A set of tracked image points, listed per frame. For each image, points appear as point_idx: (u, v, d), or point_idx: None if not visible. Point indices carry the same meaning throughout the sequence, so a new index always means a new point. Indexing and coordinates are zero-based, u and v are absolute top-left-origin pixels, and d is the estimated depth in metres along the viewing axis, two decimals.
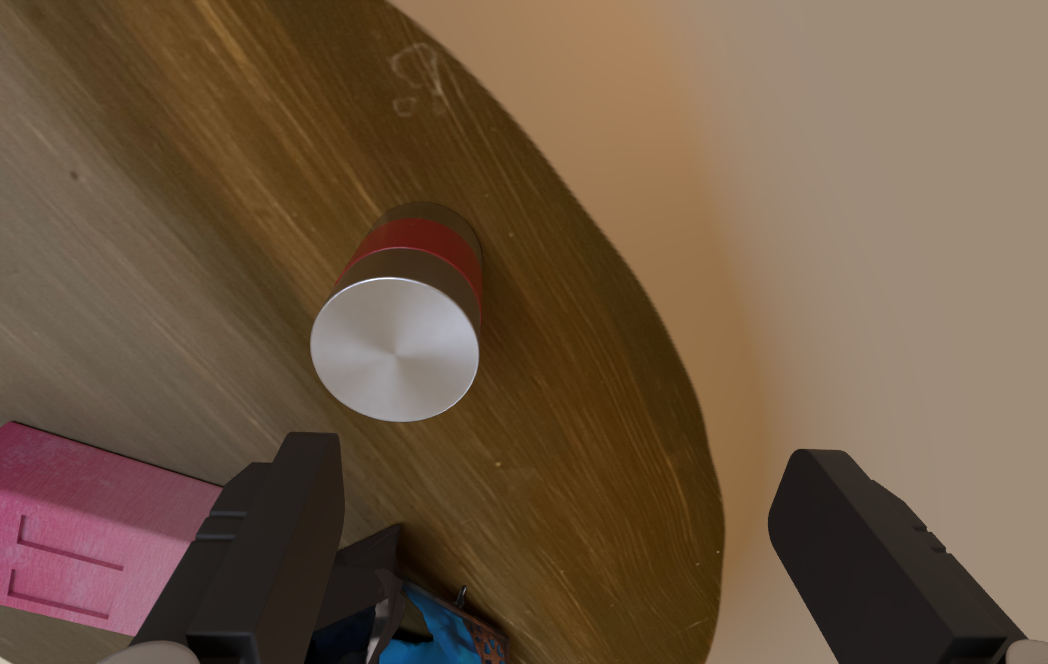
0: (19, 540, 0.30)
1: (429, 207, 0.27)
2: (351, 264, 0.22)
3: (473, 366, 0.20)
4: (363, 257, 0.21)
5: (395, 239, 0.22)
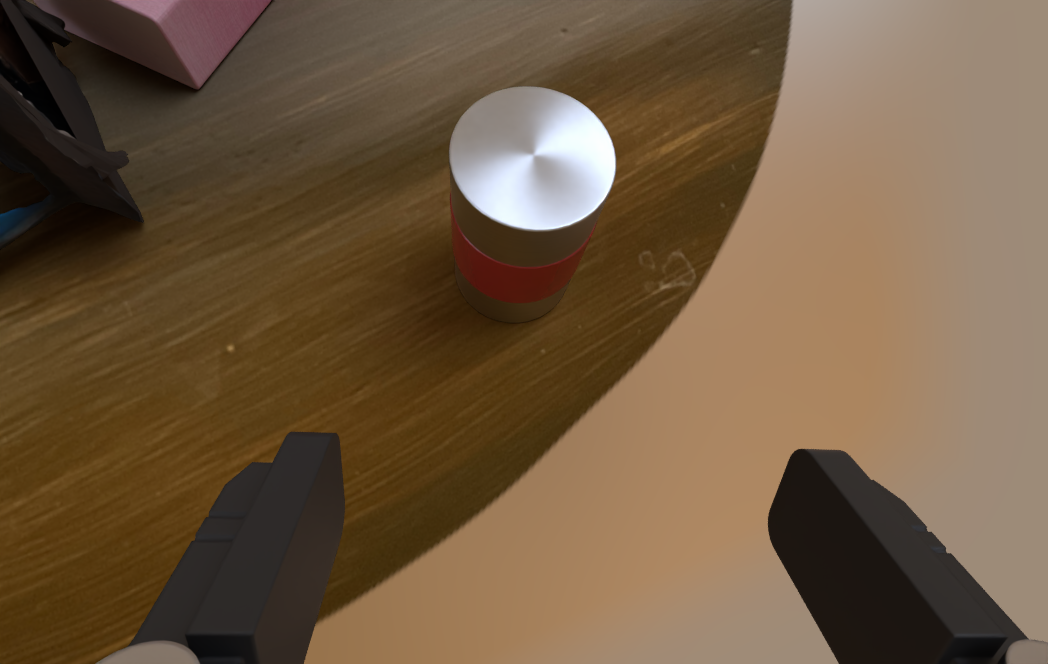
0: None
1: None
2: None
3: (524, 224, 0.19)
4: None
5: None
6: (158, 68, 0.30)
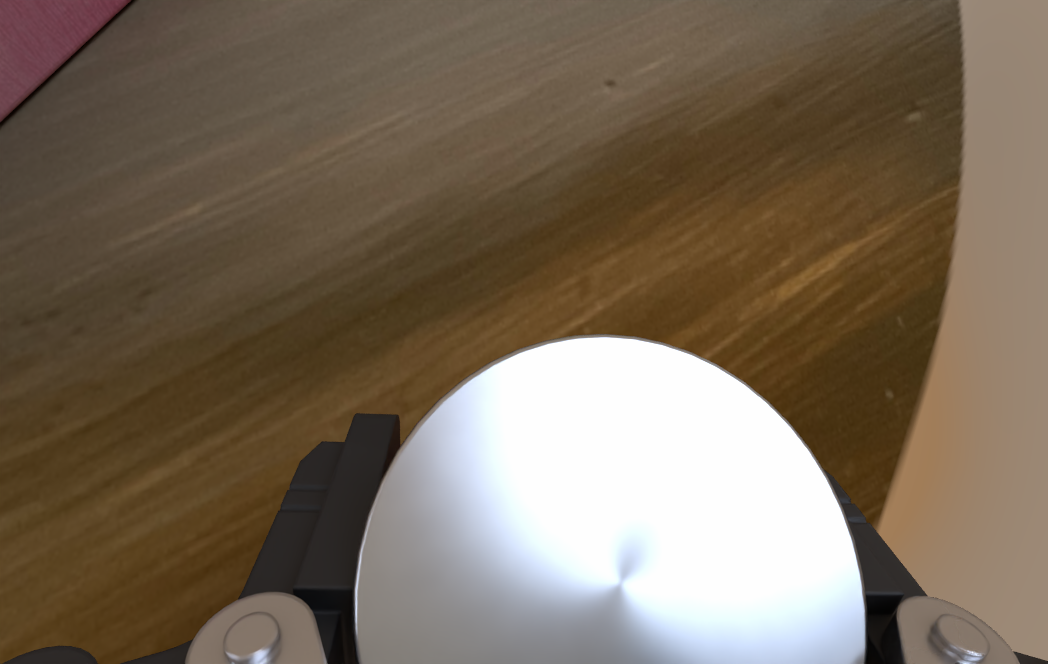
0: None
1: None
2: None
3: None
4: None
5: None
6: None
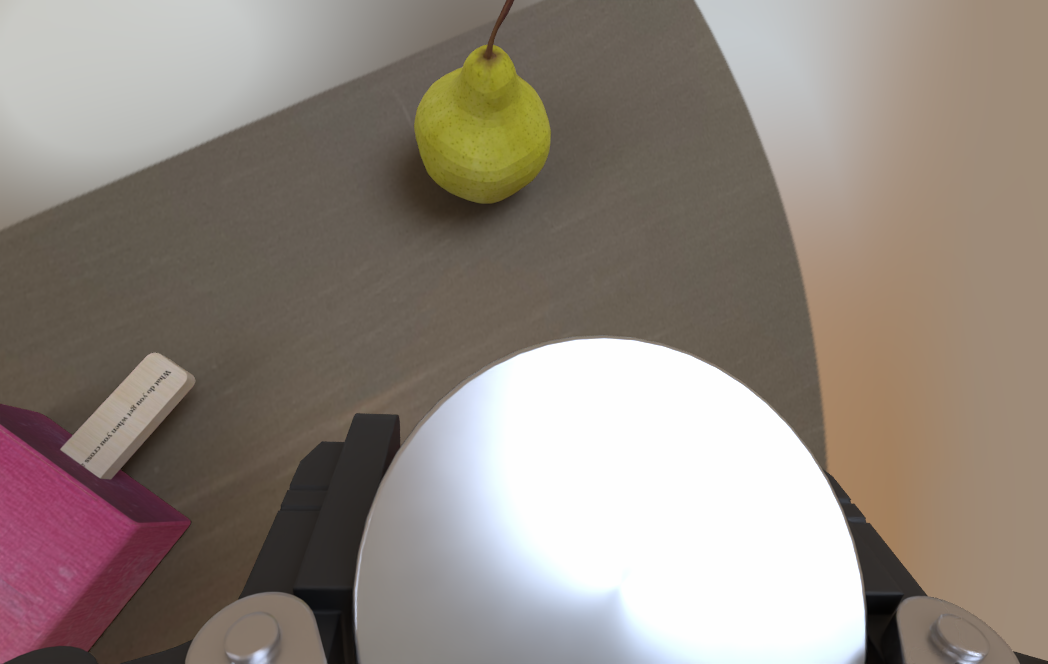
0: None
1: None
2: None
3: None
4: None
5: None
6: None
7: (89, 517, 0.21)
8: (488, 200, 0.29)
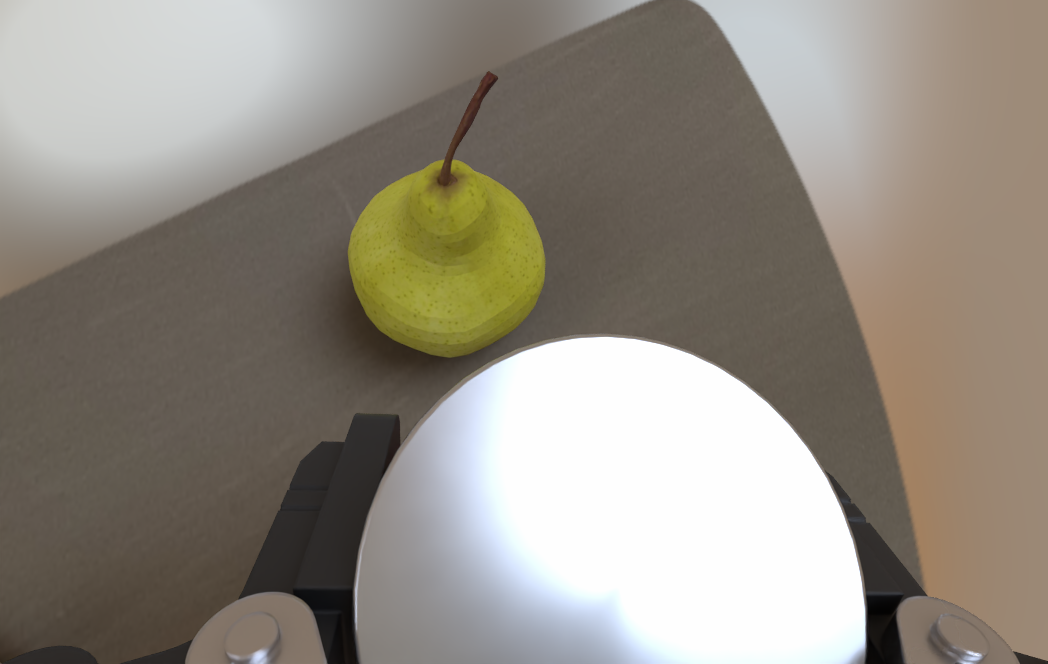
0: None
1: None
2: None
3: None
4: None
5: None
6: None
7: None
8: None
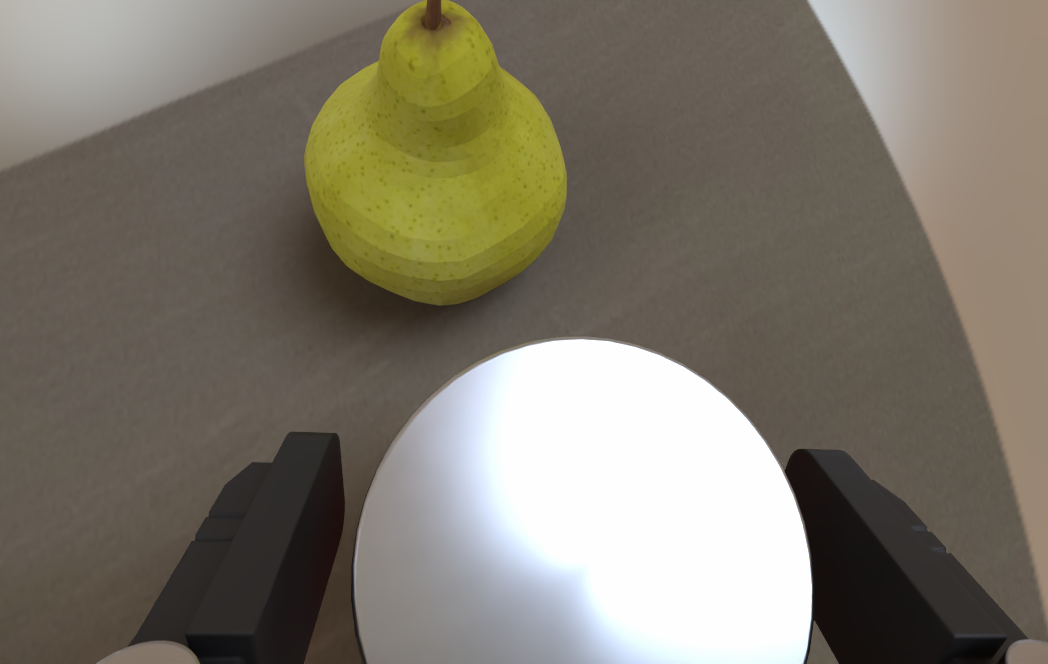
0: None
1: None
2: None
3: None
4: None
5: None
6: None
7: None
8: (451, 303, 0.16)
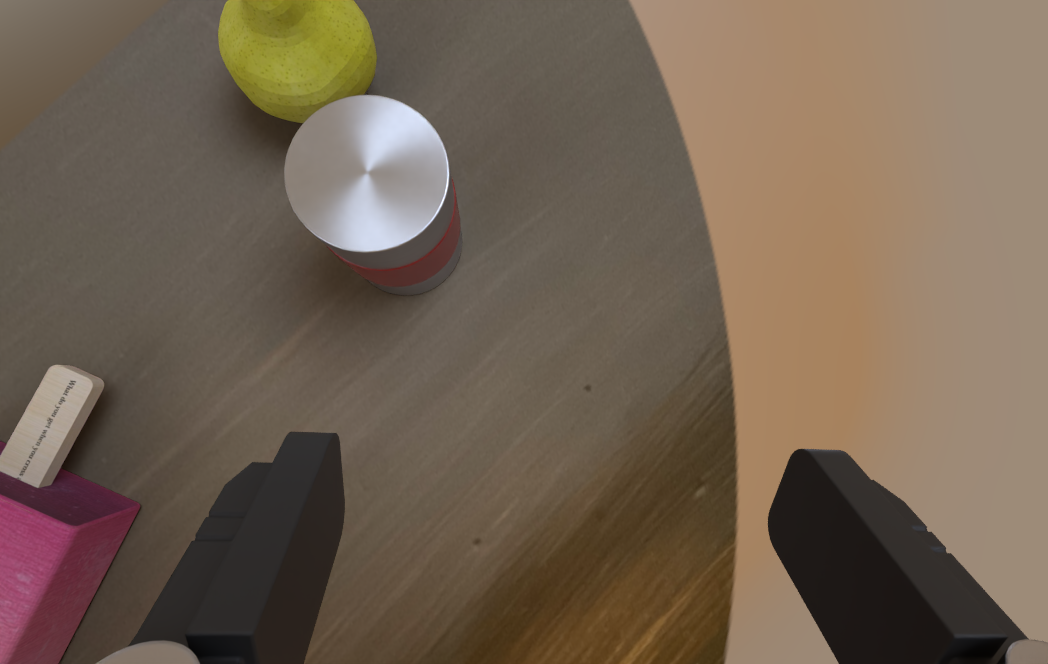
0: None
1: None
2: None
3: (373, 247, 0.20)
4: None
5: None
6: None
7: (30, 529, 0.23)
8: None
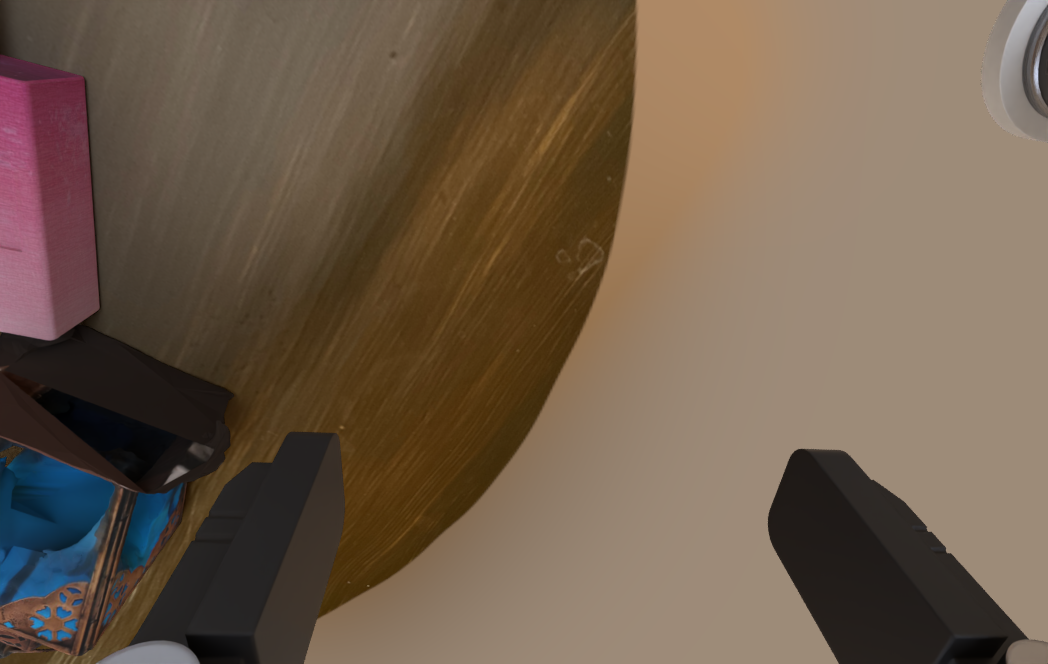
0: None
1: None
2: None
3: None
4: None
5: None
6: None
7: None
8: None
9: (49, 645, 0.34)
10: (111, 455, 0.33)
